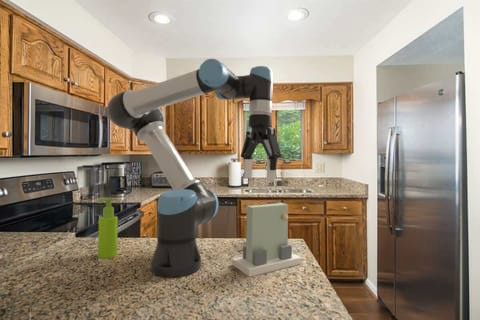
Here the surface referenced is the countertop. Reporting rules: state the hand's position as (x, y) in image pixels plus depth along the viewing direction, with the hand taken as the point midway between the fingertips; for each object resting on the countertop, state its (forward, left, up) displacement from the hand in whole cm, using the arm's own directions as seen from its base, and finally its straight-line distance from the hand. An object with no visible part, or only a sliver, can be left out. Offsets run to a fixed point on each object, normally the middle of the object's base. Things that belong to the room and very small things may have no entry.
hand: (258, 179), depth 88 cm
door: (+1, -3, -25) cm, 25 cm away
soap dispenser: (-43, +30, -27) cm, 59 cm away
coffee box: (+19, +15, -27) cm, 37 cm away
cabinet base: (+1, -3, -27) cm, 27 cm away
